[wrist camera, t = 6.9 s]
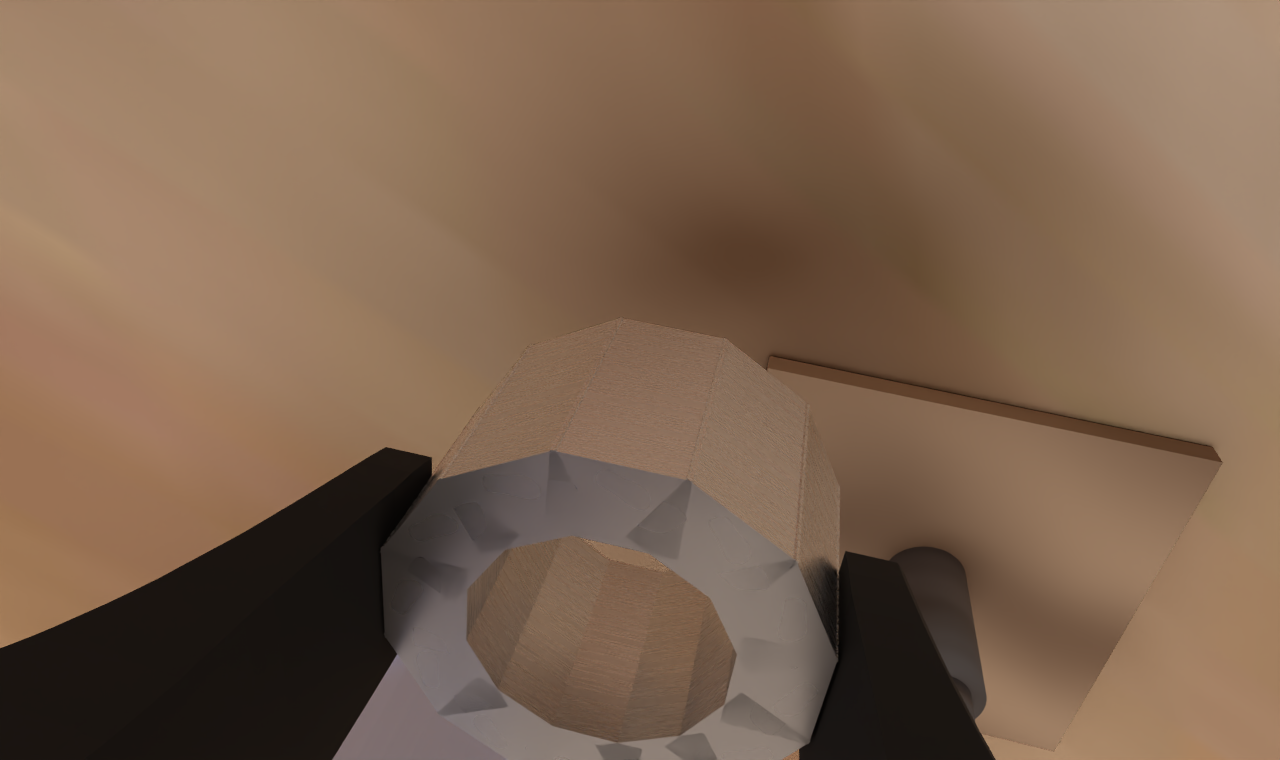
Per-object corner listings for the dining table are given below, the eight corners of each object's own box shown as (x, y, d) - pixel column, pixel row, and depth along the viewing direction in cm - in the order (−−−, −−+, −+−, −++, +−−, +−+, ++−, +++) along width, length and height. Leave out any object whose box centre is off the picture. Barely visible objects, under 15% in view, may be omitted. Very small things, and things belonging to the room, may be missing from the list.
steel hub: (790, 653, 13) (777, 838, 11) (473, 577, 14) (388, 736, 11) (875, 367, 11) (885, 522, 8) (481, 288, 11) (373, 409, 9)
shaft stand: (1049, 733, 25) (1092, 911, 20) (702, 648, 26) (674, 800, 22) (1213, 447, 19) (1314, 605, 15) (770, 356, 21) (750, 479, 16)
